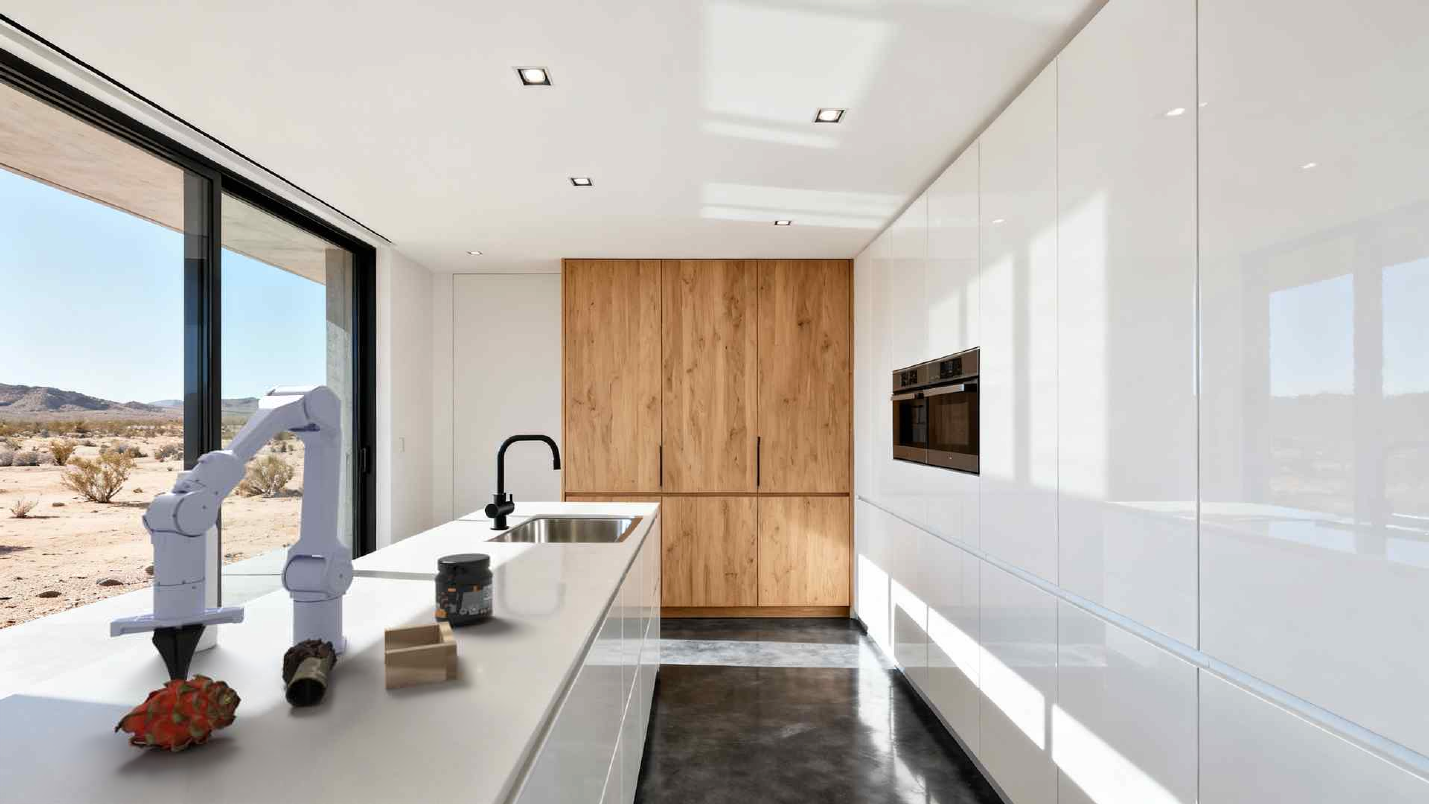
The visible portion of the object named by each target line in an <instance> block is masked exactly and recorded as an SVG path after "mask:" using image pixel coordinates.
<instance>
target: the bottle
mask: <svg viewBox="0 0 1429 804" xmlns="http://www.w3.org/2000/svg"><path fill="white" fill-rule="evenodd" d="M190 471H191V470H181V471H180V470H179V471H178V472H177V474H176V479H175V483H177V482H178V481H181V480H182V479H183V478H184V477H185V476H186V475H187V474H188V473H189V472H190ZM217 527H218V526H217V525H216V523H215V524H214V526H213V527H211V528H210V529H209V530H207V531H206V591H205V608H218V556H219V555H218V543H219V542H218V538H219V537H218V532H219V531H218V528H217ZM218 625H219V624H216V625H207V626H206V628H205V630H204V632H203V634H202V636H201V638H200V640H199V642H198V644H197V646H196V649H195V651H194V653H199V652H202V651H206V650H209V649H211V648H213V647H215V646H216V644H217V643H218V633H219V626H218Z"/></svg>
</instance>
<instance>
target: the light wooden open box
mask: <svg viewBox="0 0 1429 804" xmlns="http://www.w3.org/2000/svg"><path fill="white" fill-rule="evenodd" d="M457 647H458V644H457V641H456V638H455V636H454V633H453V631H452V627H450V625H449V622H448V621H447V622H438V623H437V622H431V623H425V624H424V623H423V624H415V625H408V626H397V627H390V628H389V627H388V628H385V629H384V664H385V690H391V689H392V688H393V689H398V688H397V687H399V688H405V687H411V686H418V685H425V684H431V683H438V682H443V681H444V682H445V681H452V680H457V678H458V668H457V667H458V652H457V651H458V648H457ZM393 689H392V690H393Z"/></svg>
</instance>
